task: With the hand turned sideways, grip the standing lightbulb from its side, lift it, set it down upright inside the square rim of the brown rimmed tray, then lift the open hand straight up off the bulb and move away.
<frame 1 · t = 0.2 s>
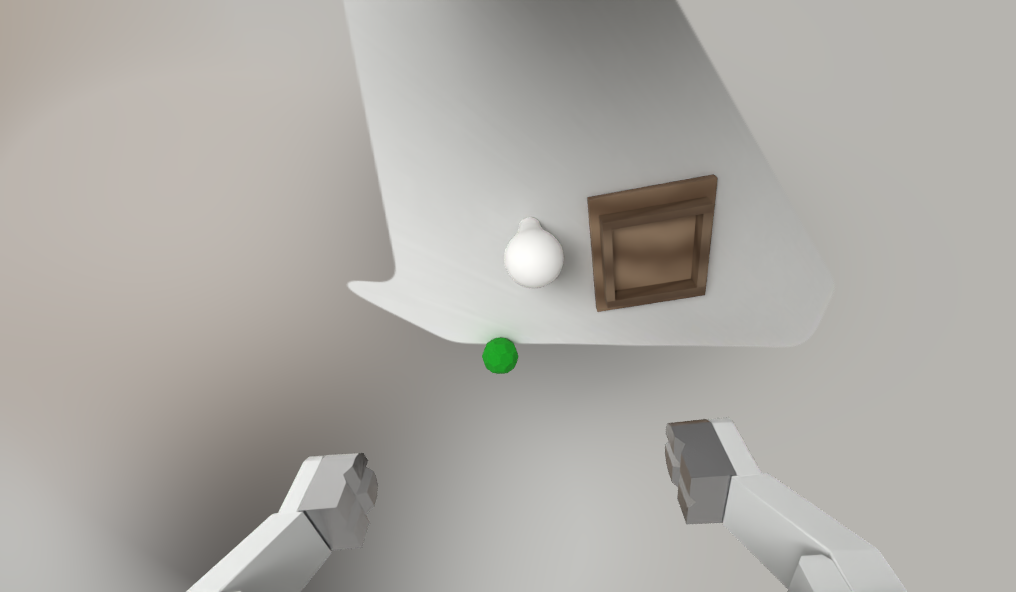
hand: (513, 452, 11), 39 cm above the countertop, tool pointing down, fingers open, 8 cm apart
brown rimmed tray: (649, 247, 52), on the countertop
polyhedron: (500, 343, 61), on the countertop
lightbulb: (528, 223, 50), on the countertop
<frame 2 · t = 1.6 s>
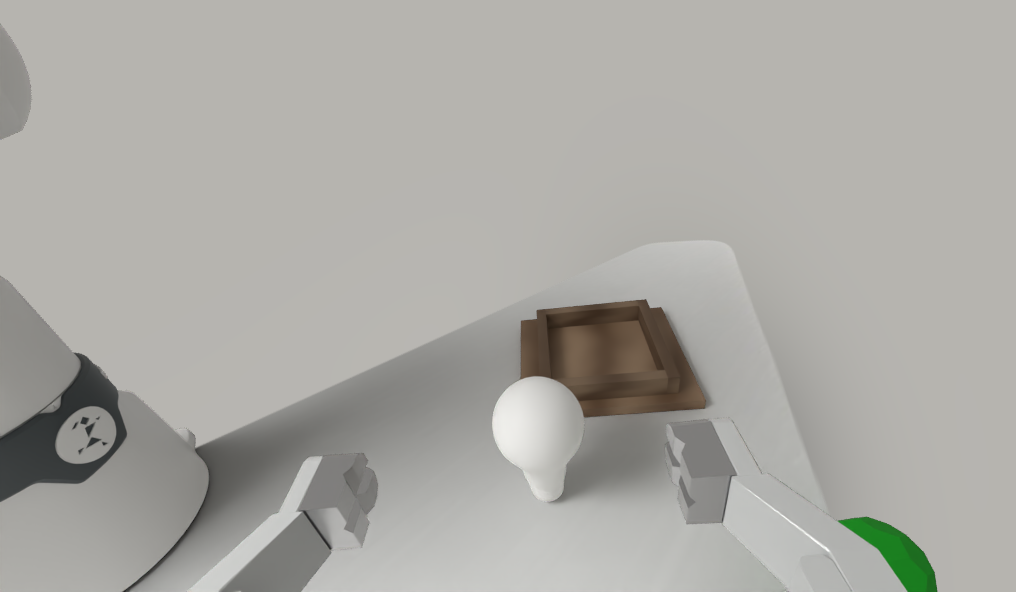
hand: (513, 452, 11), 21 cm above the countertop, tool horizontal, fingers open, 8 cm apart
brown rimmed tray: (599, 361, 44), on the countertop
polyhedron: (858, 588, 25), on the countertop
lightbulb: (548, 493, 33), on the countertop
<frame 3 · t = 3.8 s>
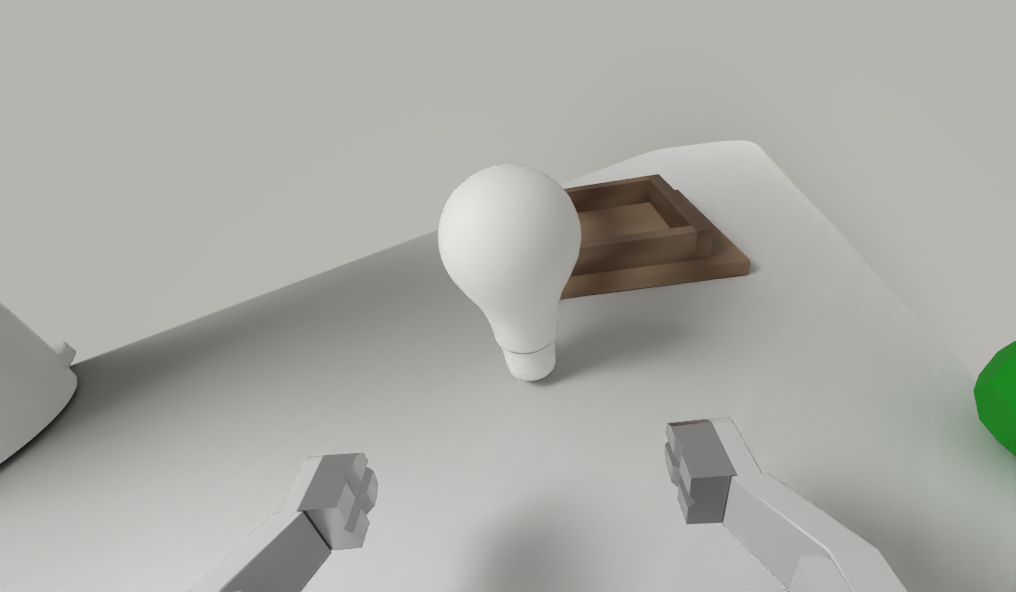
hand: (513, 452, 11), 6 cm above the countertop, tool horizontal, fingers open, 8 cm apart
brown rimmed tray: (602, 245, 34), on the countertop
lightbulb: (534, 377, 23), on the countertop
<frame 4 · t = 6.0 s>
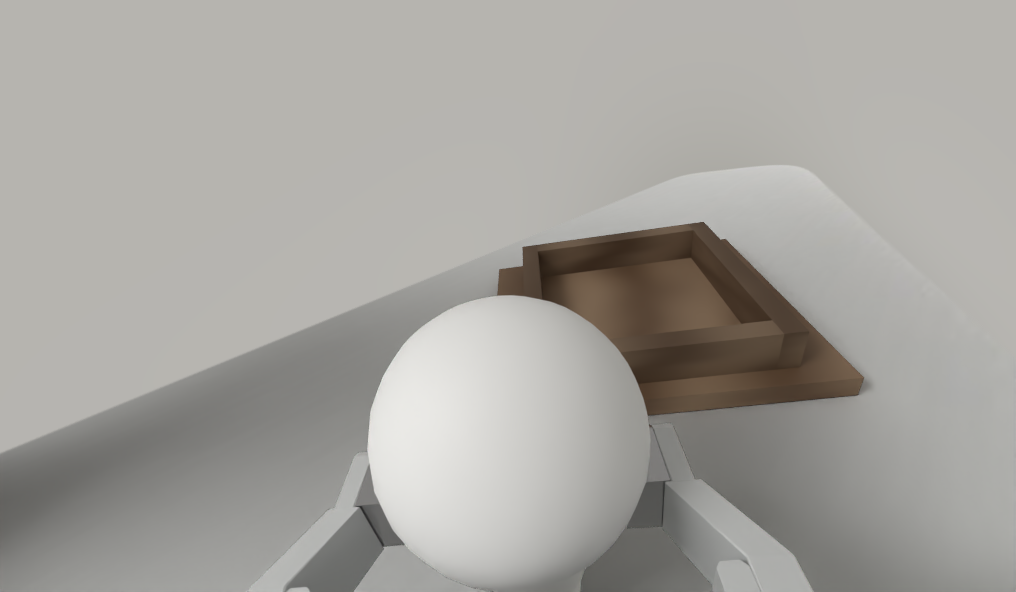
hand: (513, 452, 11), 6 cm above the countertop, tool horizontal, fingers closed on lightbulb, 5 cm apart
brown rimmed tray: (631, 322, 25), on the countertop
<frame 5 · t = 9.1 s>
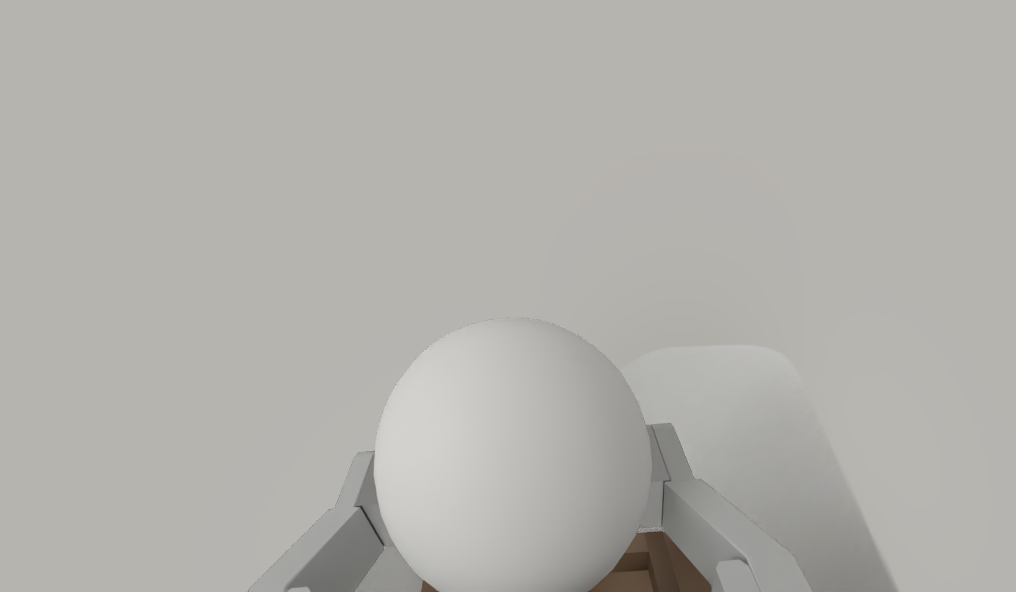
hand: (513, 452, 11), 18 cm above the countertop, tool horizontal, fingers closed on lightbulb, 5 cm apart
when the fingers open (8 cm above the countertop, at t = 12.1 s): lightbulb stays where it is, resting on brown rimmed tray.
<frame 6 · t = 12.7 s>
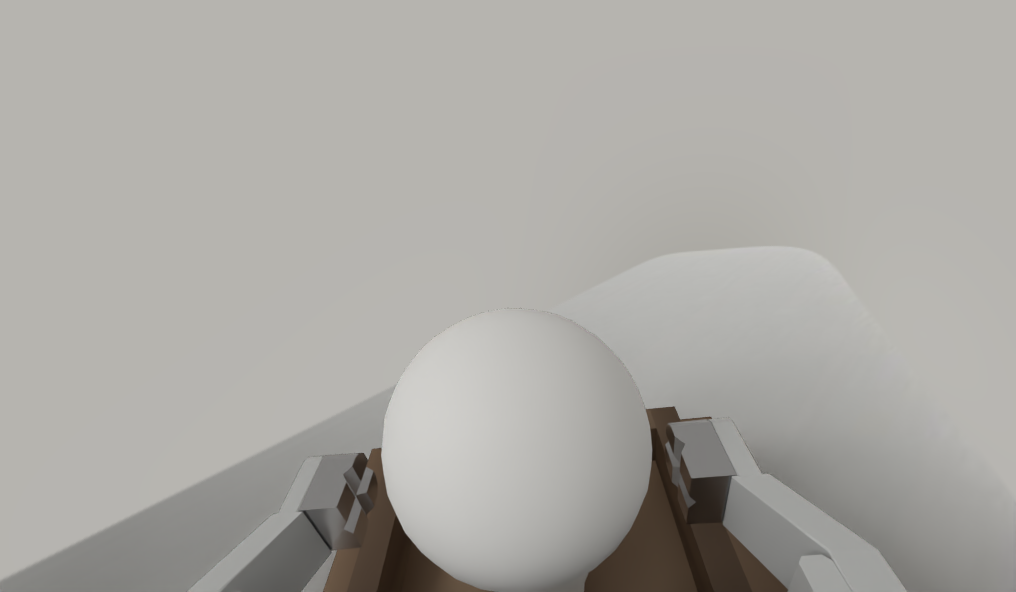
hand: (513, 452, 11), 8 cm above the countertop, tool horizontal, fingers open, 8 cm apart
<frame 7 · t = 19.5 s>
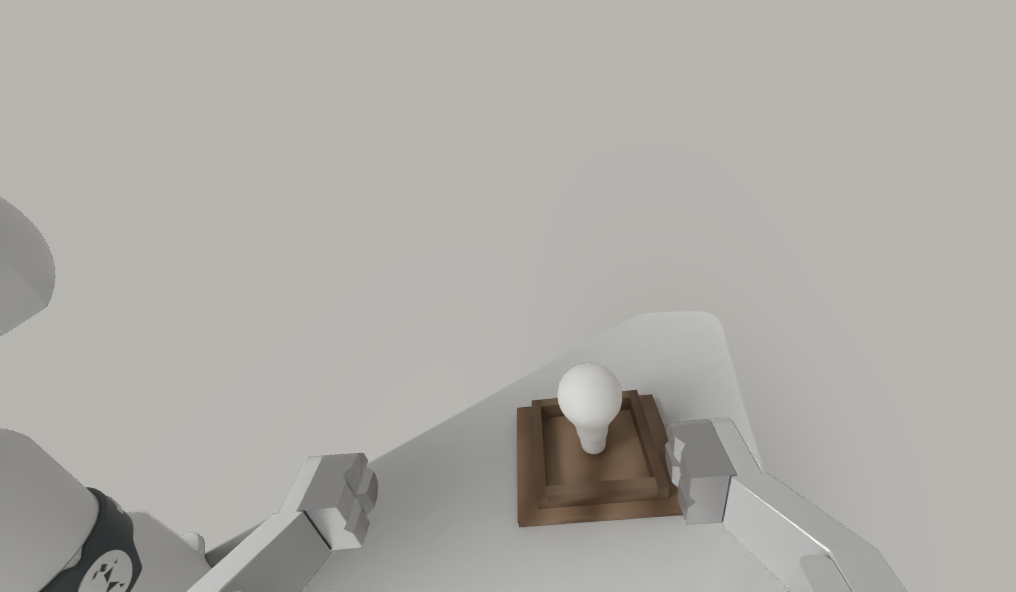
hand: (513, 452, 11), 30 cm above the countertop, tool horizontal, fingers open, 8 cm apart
brown rimmed tray: (593, 456, 45), on the countertop
lightbulb: (593, 450, 45), point 1 cm above the countertop, touching brown rimmed tray
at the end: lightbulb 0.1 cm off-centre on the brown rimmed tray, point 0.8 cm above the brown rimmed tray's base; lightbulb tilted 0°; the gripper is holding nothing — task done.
